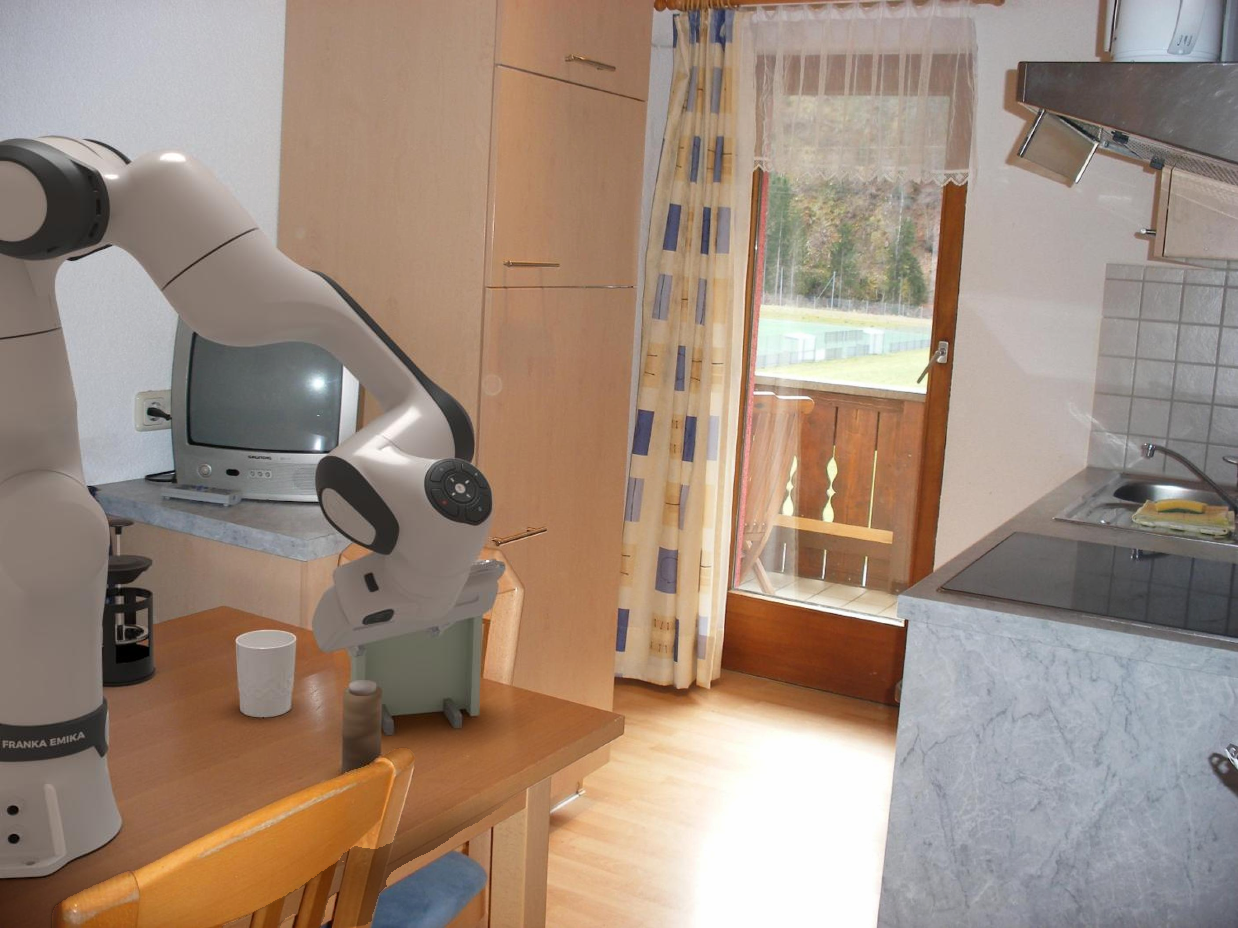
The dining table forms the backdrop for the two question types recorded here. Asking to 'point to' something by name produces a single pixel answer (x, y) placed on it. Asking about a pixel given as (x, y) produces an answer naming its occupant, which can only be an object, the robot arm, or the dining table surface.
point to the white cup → (265, 672)
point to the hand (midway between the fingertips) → (393, 641)
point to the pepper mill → (361, 724)
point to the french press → (126, 620)
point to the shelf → (425, 672)
